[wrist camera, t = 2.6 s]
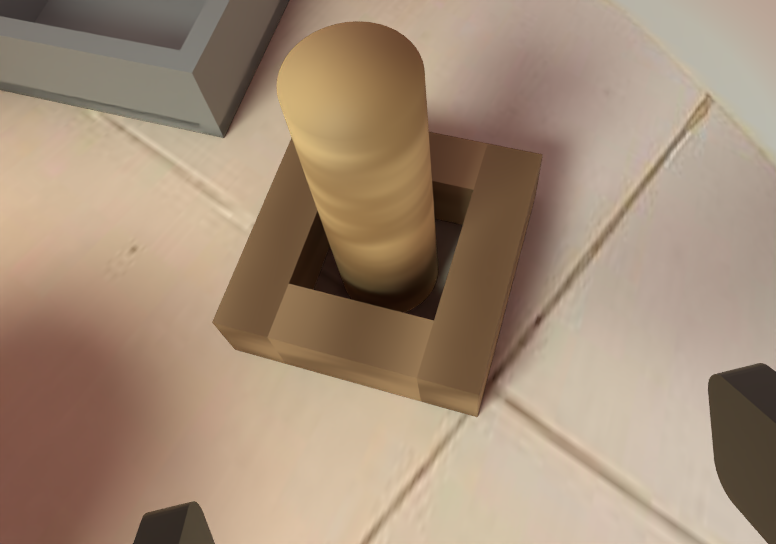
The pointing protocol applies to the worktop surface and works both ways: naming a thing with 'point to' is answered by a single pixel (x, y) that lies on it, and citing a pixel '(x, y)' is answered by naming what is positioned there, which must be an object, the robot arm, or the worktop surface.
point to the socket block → (377, 324)
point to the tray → (138, 55)
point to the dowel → (366, 156)
